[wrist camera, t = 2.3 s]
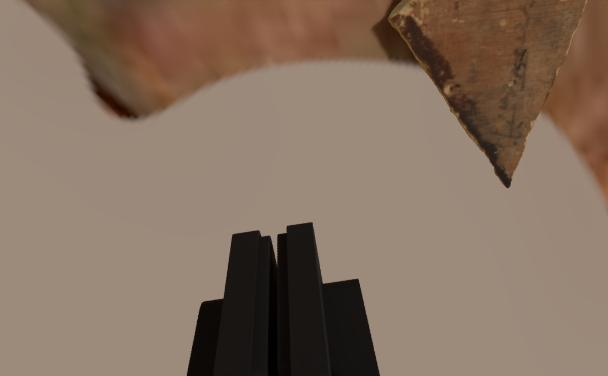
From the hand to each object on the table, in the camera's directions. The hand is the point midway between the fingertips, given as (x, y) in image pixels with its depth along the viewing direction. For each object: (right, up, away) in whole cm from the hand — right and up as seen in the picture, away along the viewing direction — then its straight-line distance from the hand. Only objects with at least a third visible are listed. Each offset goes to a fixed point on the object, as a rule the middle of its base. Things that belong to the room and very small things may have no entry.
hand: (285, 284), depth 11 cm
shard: (+9, +9, +12) cm, 17 cm away
